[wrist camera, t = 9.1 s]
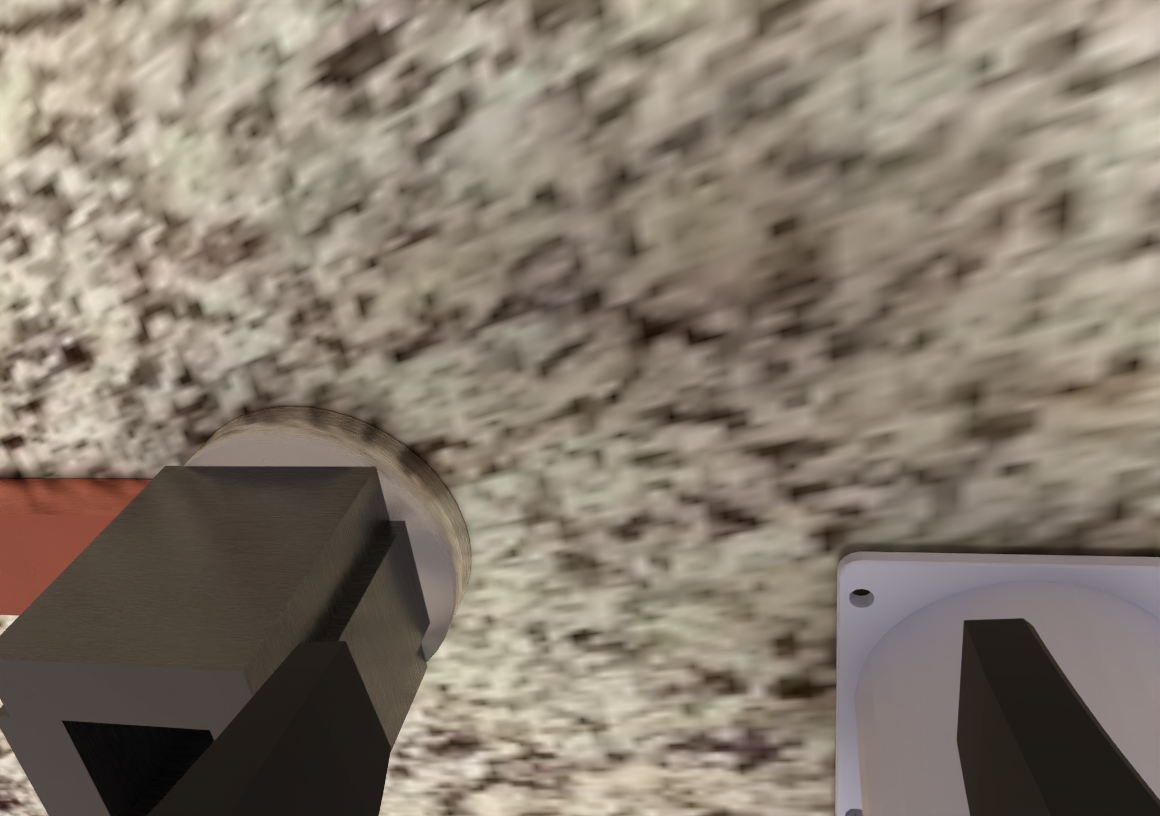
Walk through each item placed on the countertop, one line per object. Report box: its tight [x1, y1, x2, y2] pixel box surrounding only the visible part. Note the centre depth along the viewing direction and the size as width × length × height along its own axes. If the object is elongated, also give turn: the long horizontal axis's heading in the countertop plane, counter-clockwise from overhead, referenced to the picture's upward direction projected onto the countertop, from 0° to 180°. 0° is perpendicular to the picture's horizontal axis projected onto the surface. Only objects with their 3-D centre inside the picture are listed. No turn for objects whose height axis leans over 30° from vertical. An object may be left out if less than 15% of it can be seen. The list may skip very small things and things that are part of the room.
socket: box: [0, 466, 430, 816], centre depth 20 cm, size 6×6×6 cm
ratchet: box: [0, 406, 471, 662], centre depth 24 cm, size 7×19×4 cm, turn 97°
